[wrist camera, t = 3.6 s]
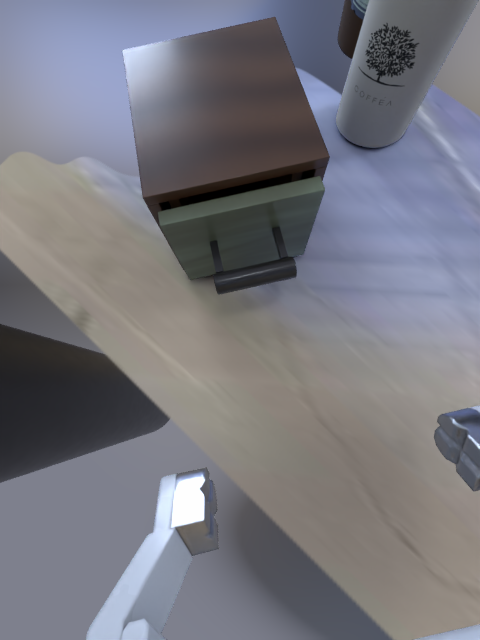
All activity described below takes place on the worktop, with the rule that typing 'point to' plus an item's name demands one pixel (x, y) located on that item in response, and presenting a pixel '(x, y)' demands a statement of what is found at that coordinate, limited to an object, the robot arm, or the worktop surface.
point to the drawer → (244, 230)
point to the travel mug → (396, 65)
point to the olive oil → (351, 25)
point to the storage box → (219, 113)
